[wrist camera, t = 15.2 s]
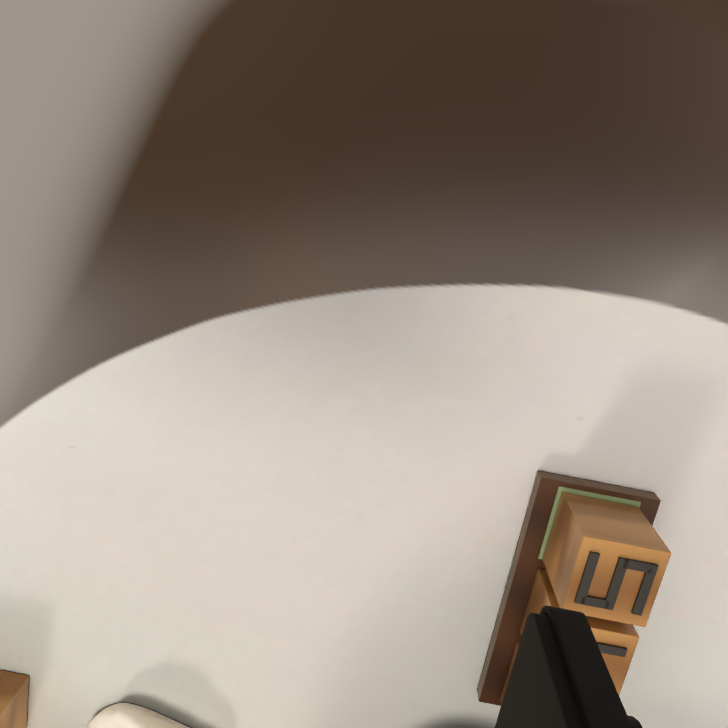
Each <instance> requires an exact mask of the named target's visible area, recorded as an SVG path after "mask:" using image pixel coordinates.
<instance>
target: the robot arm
mask: <svg viewBox="0 0 728 728" xmlns="http://www.w3.org/2000/svg"><path fill="white" fill-rule="evenodd" d="M495 728H642V726H641V724H640V723H639V721H638V720H636V719H635V718H634V717H633V716H628V715H627V714H626V712H625V710H624V707H623V705H622V702H621V700H620V697H619V695H618V693H617V690H616V688H615V685H614V683H613V681H612V678H611V676H610V673H609V671H608V668H607V666H606V664H605V661H604V659H603V656H602V654H601V652H600V649H599V647H598V644H597V642H596V639H595V637H594V635H593V632H592V630H591V627H590V625H589V623H588V620H587V618H586V616H585V614H584V613H582V612H579V611H573V610H568V609H563V608H558V607H553V606H548V605H546V606H544V607H543V608H542V610H541V611H540V614H537V613H530V614H529V615H528V617H527V620H526V623H525V626H524V630H523V633H522V637H521V640H520V643H519V647H518V650H517V654H516V657H515V661H514V664H513V667H512V671H511V674H510V678H509V681H508V685H507V688H506V691H505V695H504V698H503V702H502V705H501V709H500V712H499V715H498V719H497V722H496V726H495Z"/></svg>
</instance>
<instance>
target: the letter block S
mask: <svg viewBox="0 0 728 728" xmlns="http://www.w3.org/2000/svg"><path fill="white" fill-rule="evenodd" d="M670 555H671V552H670V551H669V549H668V548H667V546H666V545H665V544H664V542H663V541H662V539H661V538H660V537H659V535H658V534H657V532H656V531H655V529H654V528H653V527H652V525H651V524H650V522H649V521H648V520H647V518H646V517H645V515H644V514H643V513H642V511H641V510H640V508H639V507H638V506H633V505H628V504H623V503H618V502H613V501H607V500H602V499H597V498H592V497H587V496H581V495H576V494H571V493H566V492H561V496H560V499H559V503H558V506H557V510H556V513H555V516H554V520H553V523H552V527H551V530H550V534H549V537H548V540H547V544H546V547H545V551H544V554H543V558H542V560H543V562H544V565H545V568H546V571H547V573H548V576H549V579H550V582H551V585H552V587H553V590H554V593H555V596H556V598H557V601H558V604H559V607H560V608H563V609H568V610H573V611H579V612H582V613H584V614H585V616H590V617H595V618H601V619H606V620H611V621H616V622H621V623H626V624H632V625H637V626H642V627H645V626H646V623H647V620H648V618H649V615H650V612H651V609H652V606H653V603H654V601H655V598H656V595H657V592H658V589H659V586H660V584H661V581H662V578H663V575H664V572H665V569H666V566H667V564H668V561H669V558H670Z"/></svg>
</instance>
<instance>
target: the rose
mask: <svg viewBox="0 0 728 728" xmlns="http://www.w3.org/2000/svg"><path fill="white" fill-rule="evenodd" d="M87 728H190V727H187V726H185V725H183V724H181V723H178V722H176V721H174V720H172V719H170V718H167V717H165V716H163V715H161V714H158V713H156V712H154V711H152V710H149V709H147V708H144V707H141V706H137V705H134V704H130V703H117V704H114V705H111V706H109V707H106V708H104V709H103V710H102V711H101V712H100V713H99V714H98V715H96V716H95V717H94V718H93V719H92V721H91V722H90V723H89V725H88V727H87Z"/></svg>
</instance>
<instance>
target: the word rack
mask: <svg viewBox="0 0 728 728" xmlns="http://www.w3.org/2000/svg"><path fill="white" fill-rule="evenodd" d="M561 492H566V493H571V494H576V495H581V496H587V497H592V498H597V499H602V500H607V501H613V502H618V503H623V504H628V505H633V506H638V507H639V508H640V510H641V511H642V513H643V514H644V515H645V517H646V518H647V520H648V521H649V522H650V524H651V525H653V522H654V519H655V516H656V513H657V510H658V507H659V504H660V499H659V498H658V497H657V495H656V494H655V493H652V492H647V491H641V490H636V489H631V488H626V487H621V486H615V485H610V484H605V483H600V482H594V481H589V480H584V479H579V478H574V477H568V476H563V475H558V474H553V473H547V472H542V471H538V473H537V476H536V480H535V484H534V487H533V491H532V494H531V498H530V502H529V505H528V509H527V512H526V516H525V520H524V523H523V527H522V531H521V534H520V538H519V541H518V545H517V549H516V552H515V556H514V559H513V563H512V567H511V570H510V574H509V577H508V581H507V585H506V588H505V592H504V595H503V599H502V603H501V606H500V610H499V614H498V617H497V621H496V624H495V628H494V632H493V635H492V639H491V642H490V646H489V650H488V653H487V657H486V660H485V664H484V668H483V671H482V675H481V678H480V682H479V686H478V689H477V692H478V699H479V701H480V702H485V703H490V704H495V705H500V706H501V705H502V702H503V698H504V695H505V691H506V688H507V685H508V681H509V678H510V674H511V671H512V667H513V664H514V661H515V657H516V654H517V650H518V647H519V643H520V640H521V637H522V633H523V630H524V626H525V623H526V620H527V617H528V615H529V614H530V613H537V614H540V611H541V610H542V608H543V607H544V606H546V605H548V606H553V607H558V608H560V607H559V604H558V601H557V598H556V596H555V593H554V590H553V587H552V585H551V582H550V579H549V576H548V573H547V571H546V568H545V565H544V562H543V560H542V558H543V554H544V551H545V547H546V544H547V540H548V537H549V534H550V530H551V527H552V523H553V520H554V516H555V513H556V510H557V506H558V503H559V499H560V496H561ZM586 618H587V620H588V623H589V625H590V627H591V630H592V632H593V635H594V637H595V639H596V642H597V644H598V647H599V649H600V652H601V654H602V656H603V659H604V661H605V664H606V666H607V668H608V671H609V673H610V676H611V678H612V681H613V683H614V685H615V688H616V690H617V693H618V695H619V694H620V691H621V688H622V685H623V682H624V679H625V677H626V674H627V671H628V668H629V665H630V662H631V659H632V657H633V654H634V651H635V648H636V645H637V642H638V639H639V636H638V634H637V632H636V630H635V628H634V626H633V625H632V624H626V623H621V622H616V621H611V620H606V619H601V618H595V617H590V616H586Z"/></svg>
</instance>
